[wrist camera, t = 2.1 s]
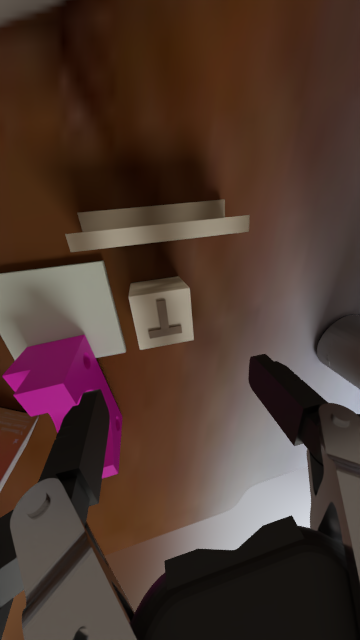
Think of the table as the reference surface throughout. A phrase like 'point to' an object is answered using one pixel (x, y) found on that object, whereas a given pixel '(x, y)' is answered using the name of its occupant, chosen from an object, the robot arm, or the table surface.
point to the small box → (13, 439)
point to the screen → (154, 225)
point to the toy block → (64, 386)
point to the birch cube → (161, 312)
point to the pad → (59, 308)
